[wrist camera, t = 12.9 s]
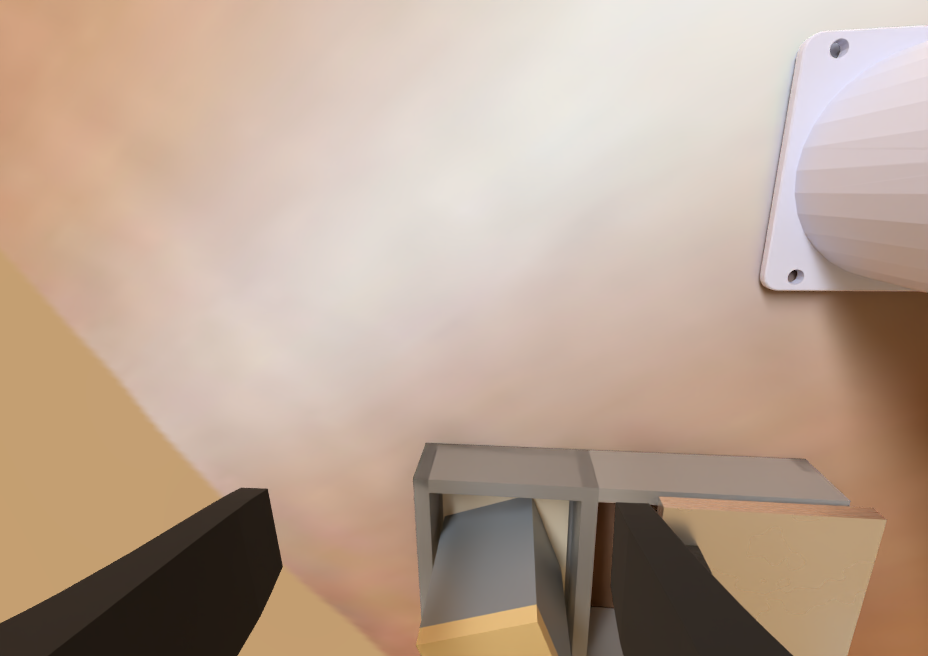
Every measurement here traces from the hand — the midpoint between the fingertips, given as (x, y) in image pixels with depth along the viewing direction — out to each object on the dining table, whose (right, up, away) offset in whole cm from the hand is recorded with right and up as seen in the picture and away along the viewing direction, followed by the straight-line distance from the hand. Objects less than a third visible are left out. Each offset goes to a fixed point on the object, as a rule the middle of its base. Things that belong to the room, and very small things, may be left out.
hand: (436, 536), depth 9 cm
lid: (+11, -6, +8) cm, 15 cm away
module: (+2, -5, +11) cm, 12 cm away
